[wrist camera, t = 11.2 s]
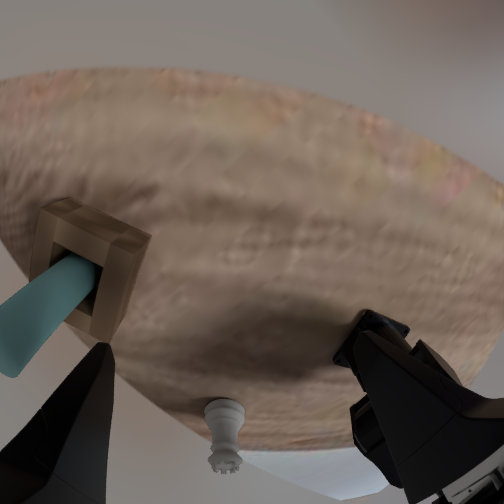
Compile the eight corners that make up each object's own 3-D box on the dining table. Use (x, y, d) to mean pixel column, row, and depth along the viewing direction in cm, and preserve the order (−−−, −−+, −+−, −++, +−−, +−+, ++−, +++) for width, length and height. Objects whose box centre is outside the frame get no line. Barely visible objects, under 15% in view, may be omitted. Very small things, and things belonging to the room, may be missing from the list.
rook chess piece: (215, 424, 29) (215, 480, 21) (196, 402, 27) (191, 462, 20) (251, 414, 29) (257, 472, 21) (234, 392, 27) (237, 454, 20)
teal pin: (114, 252, 21) (16, 345, 9) (105, 284, 22) (21, 387, 9) (82, 236, 20) (-27, 311, 8) (75, 269, 21) (-20, 356, 9)
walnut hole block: (152, 235, 21) (134, 254, 17) (125, 314, 23) (108, 344, 19) (70, 197, 20) (40, 207, 15) (53, 277, 22) (27, 299, 17)
